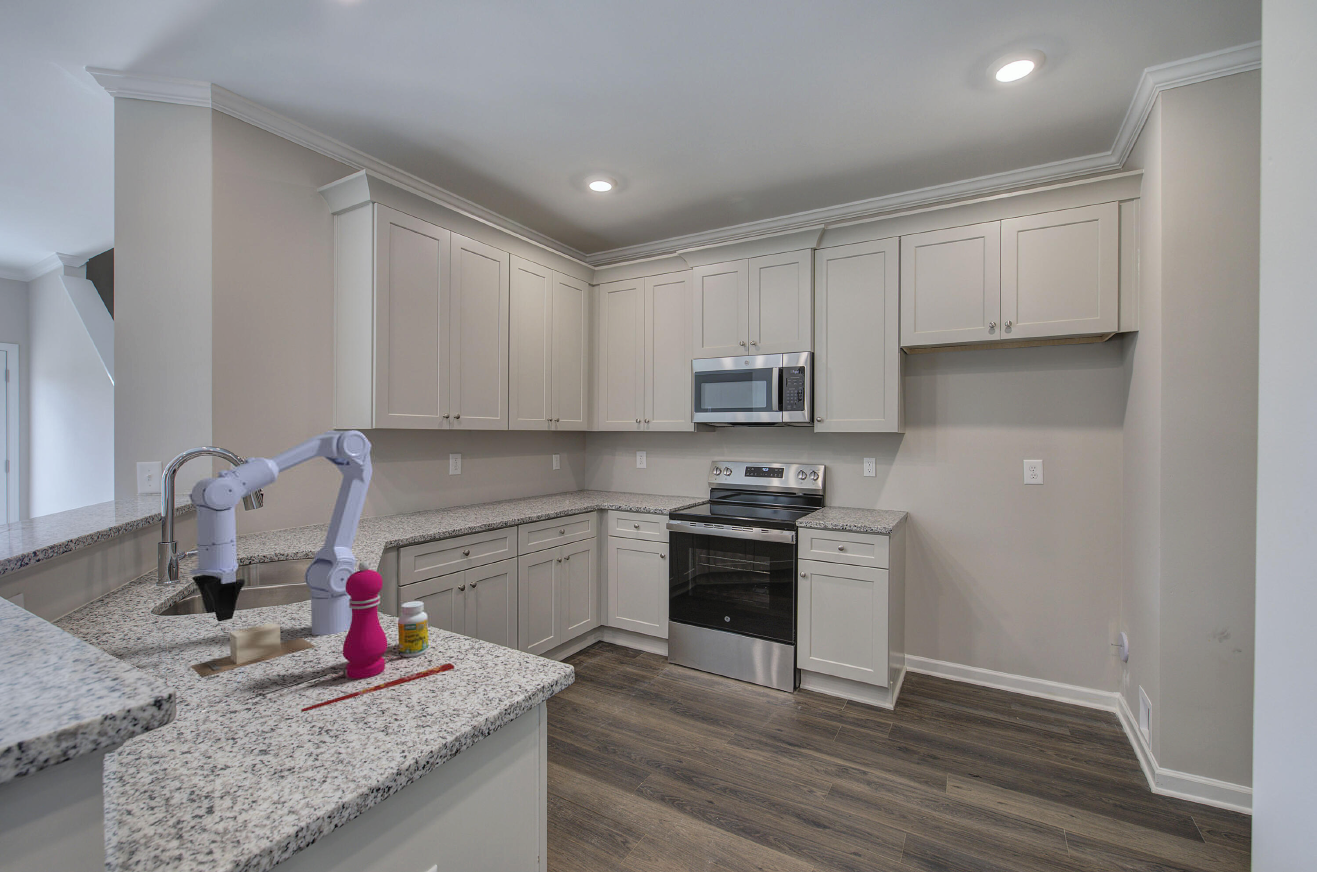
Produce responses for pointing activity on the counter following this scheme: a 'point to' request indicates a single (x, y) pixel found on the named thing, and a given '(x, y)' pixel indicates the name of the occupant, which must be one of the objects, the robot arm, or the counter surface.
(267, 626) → the cap
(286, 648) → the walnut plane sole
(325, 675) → the slate mat
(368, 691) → the chopstick
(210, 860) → the counter surface
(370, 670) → the pepper mill
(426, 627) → the supplement bottle
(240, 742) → the counter surface
